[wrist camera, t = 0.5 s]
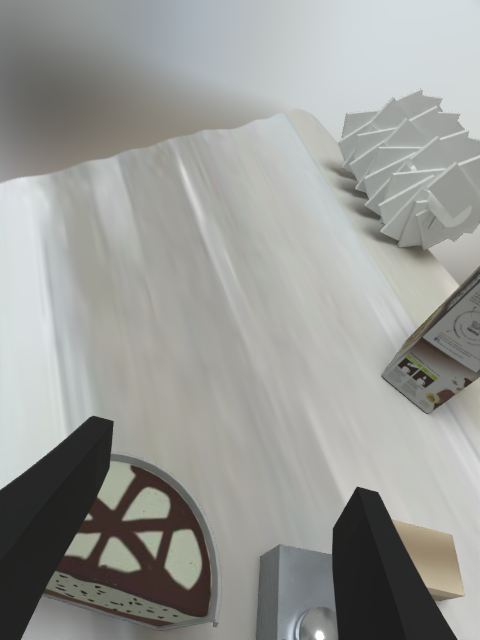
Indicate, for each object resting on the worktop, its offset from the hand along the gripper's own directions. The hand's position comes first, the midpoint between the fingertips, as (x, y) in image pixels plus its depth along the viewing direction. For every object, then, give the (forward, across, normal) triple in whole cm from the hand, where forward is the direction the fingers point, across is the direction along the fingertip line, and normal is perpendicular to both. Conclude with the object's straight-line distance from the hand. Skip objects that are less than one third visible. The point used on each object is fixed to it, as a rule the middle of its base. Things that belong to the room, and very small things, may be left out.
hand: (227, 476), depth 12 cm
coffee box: (+32, -20, +14) cm, 40 cm away
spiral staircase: (+64, -18, +4) cm, 67 cm away
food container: (+6, +6, +18) cm, 20 cm away
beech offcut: (+12, -16, +19) cm, 28 cm away
